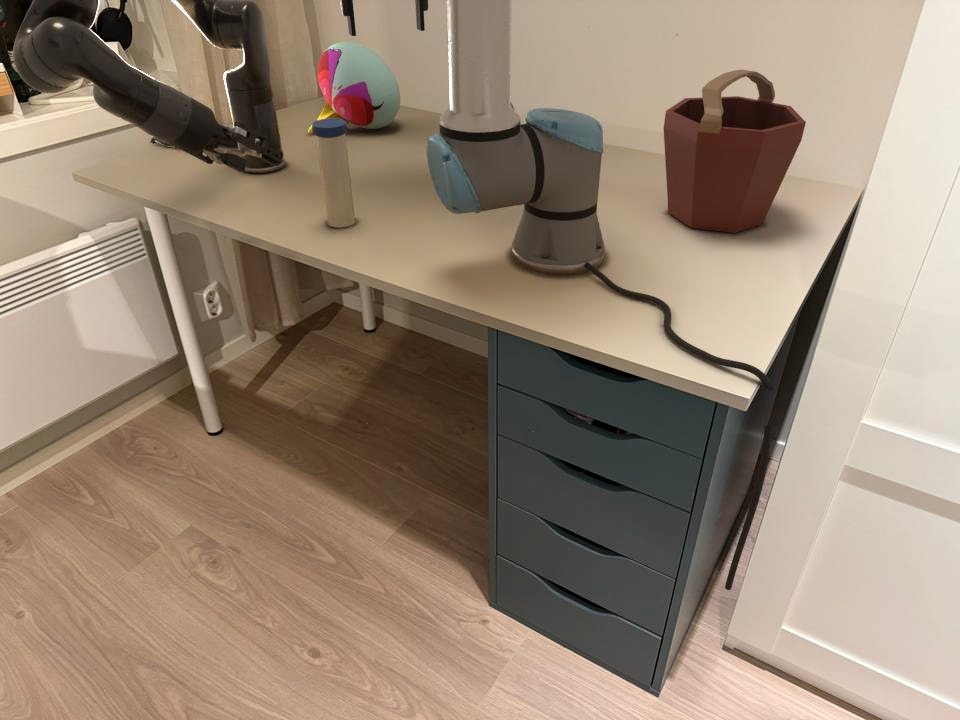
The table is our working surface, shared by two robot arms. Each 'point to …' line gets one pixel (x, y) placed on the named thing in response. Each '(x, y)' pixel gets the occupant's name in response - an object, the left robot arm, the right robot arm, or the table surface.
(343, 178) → the jar
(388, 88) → the toy
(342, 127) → the lid
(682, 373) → the table surface
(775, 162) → the bucket
